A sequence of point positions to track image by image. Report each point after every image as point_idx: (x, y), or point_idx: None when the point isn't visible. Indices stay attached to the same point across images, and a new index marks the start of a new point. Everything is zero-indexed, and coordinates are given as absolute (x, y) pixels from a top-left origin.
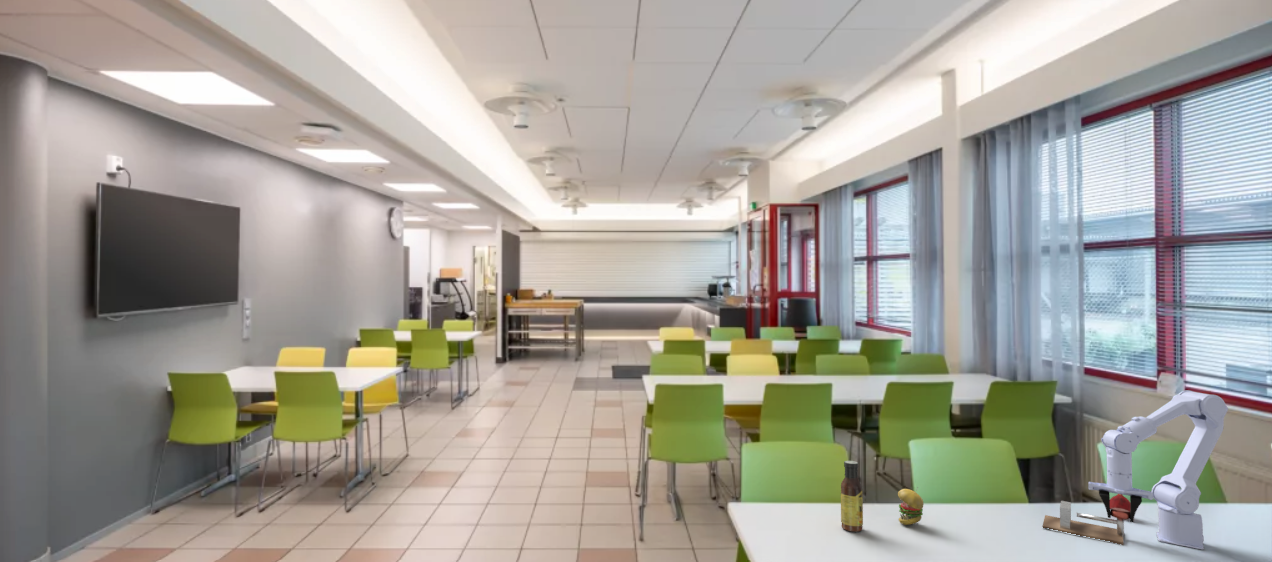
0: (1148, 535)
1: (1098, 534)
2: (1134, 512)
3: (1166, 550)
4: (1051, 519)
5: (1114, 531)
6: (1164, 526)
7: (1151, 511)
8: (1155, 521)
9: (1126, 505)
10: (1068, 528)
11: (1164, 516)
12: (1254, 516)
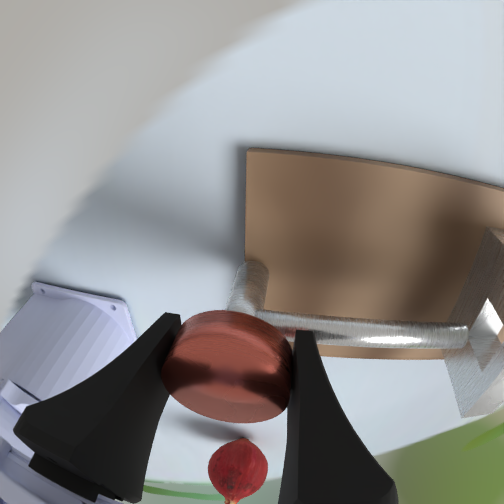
0: None
1: (366, 222)
2: (120, 359)
3: (89, 206)
4: None
5: None
6: (86, 354)
7: (187, 464)
8: (170, 434)
9: (219, 469)
10: (493, 228)
11: (64, 387)
12: None
